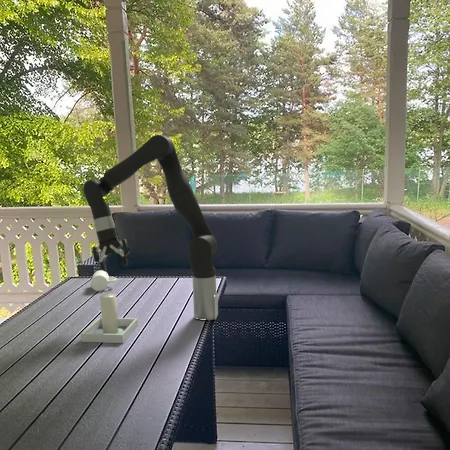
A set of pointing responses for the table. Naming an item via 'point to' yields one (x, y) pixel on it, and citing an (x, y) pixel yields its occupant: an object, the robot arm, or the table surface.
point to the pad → (117, 333)
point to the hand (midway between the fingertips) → (115, 268)
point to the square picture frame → (109, 338)
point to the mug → (101, 280)
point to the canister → (109, 313)
